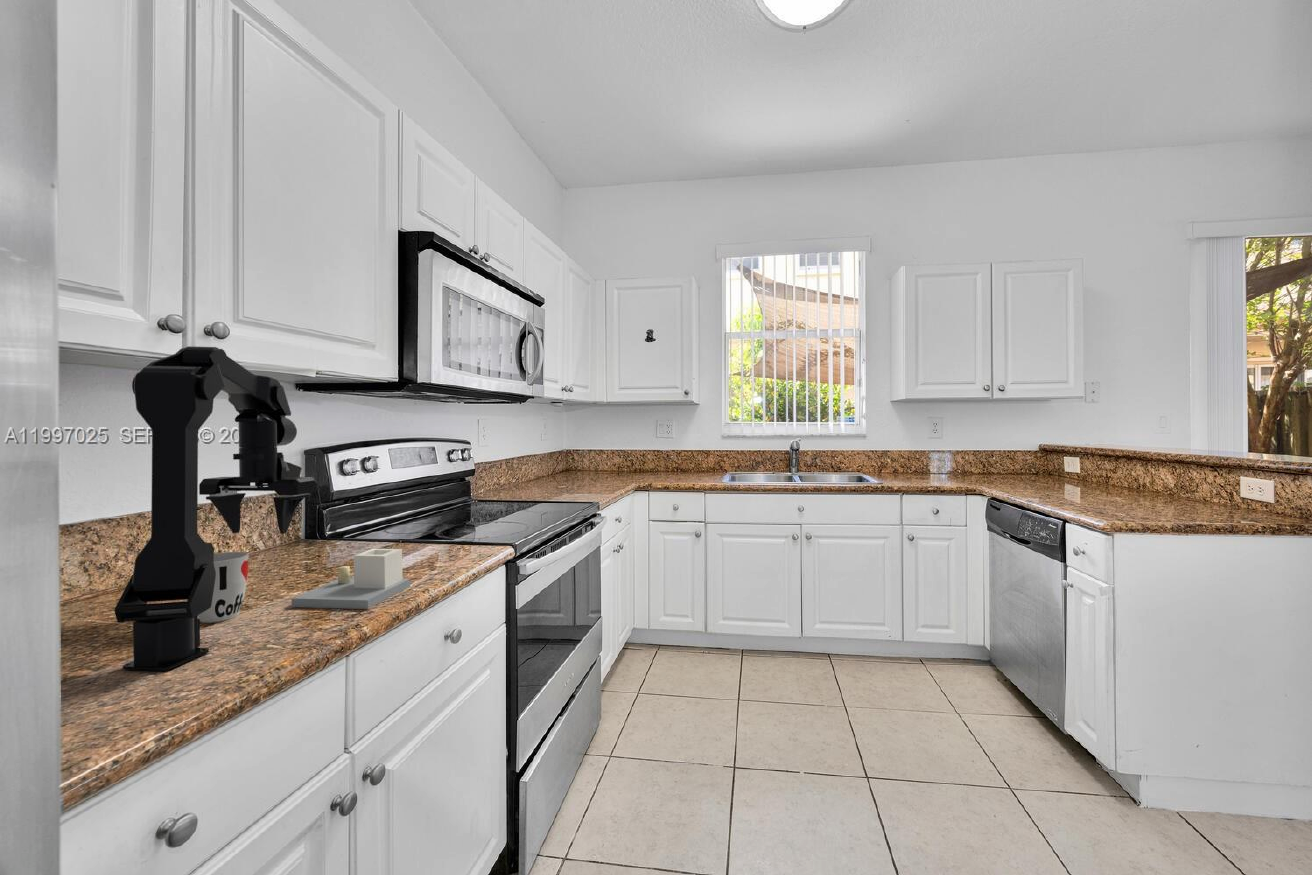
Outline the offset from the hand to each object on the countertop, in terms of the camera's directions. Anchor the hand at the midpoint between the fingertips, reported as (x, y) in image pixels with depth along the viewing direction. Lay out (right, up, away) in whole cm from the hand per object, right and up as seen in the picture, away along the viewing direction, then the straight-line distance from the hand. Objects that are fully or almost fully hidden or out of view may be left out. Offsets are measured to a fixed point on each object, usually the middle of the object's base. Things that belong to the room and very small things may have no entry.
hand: (259, 533), depth 104 cm
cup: (0, -12, -10) cm, 16 cm away
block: (+19, -10, +5) cm, 23 cm away
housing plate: (+16, -12, +2) cm, 20 cm away
